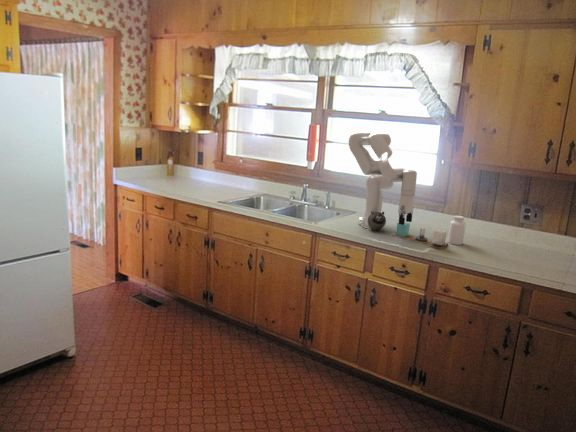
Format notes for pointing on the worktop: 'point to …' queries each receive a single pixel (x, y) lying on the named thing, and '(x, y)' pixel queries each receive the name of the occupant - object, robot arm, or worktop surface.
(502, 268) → the worktop surface
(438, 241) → the pale wooden cube
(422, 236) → the dark grey knobbed dome
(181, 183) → the worktop surface
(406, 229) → the matte teal square block
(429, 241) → the board
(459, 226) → the pill bottle
